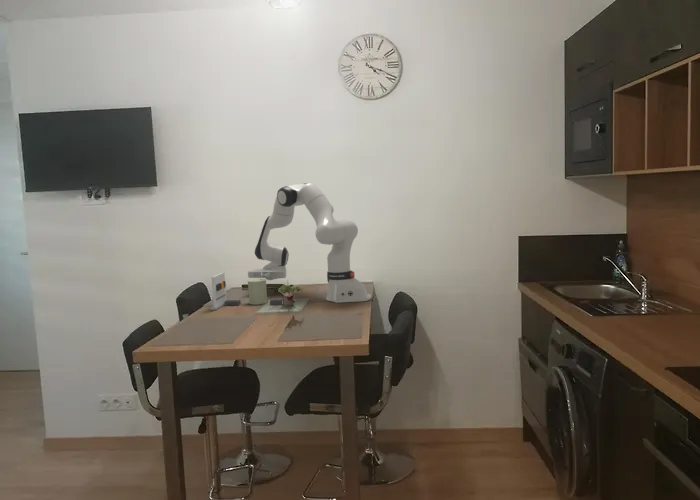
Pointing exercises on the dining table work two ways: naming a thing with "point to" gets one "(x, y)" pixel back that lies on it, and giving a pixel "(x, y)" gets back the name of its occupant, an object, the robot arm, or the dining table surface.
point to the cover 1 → (232, 302)
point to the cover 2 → (276, 301)
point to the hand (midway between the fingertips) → (263, 276)
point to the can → (257, 291)
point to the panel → (218, 291)
